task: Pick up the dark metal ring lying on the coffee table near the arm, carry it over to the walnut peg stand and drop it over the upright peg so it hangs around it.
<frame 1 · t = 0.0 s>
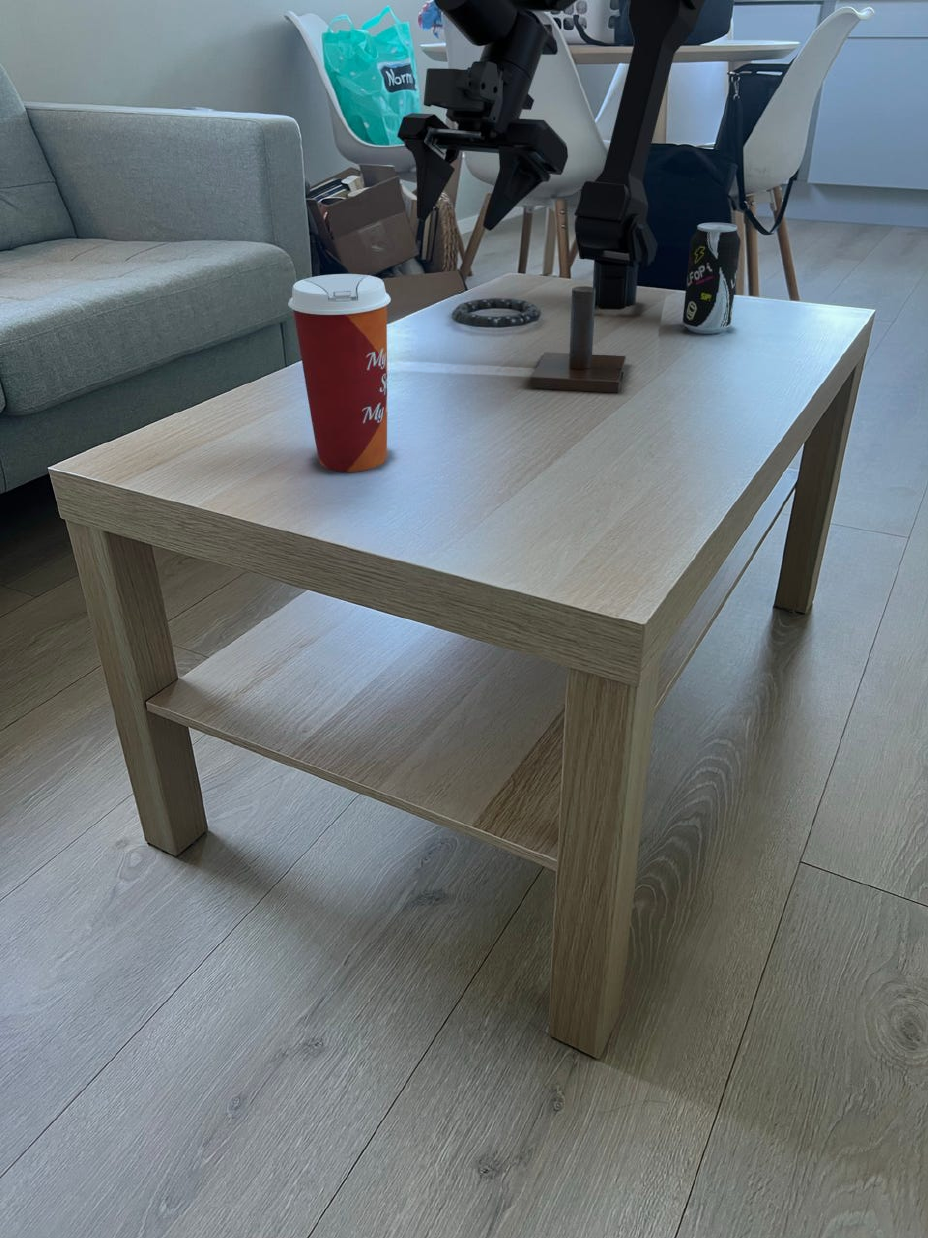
hand: (452, 223, 99), 15 cm above the table, tool tilted 35°, fingers open, 9 cm apart
beverage can: (705, 330, 118), on the table
coffee cup: (353, 460, 85), on the table
ring: (496, 315, 121), point 1 cm above the table
peg stand: (579, 377, 103), on the table
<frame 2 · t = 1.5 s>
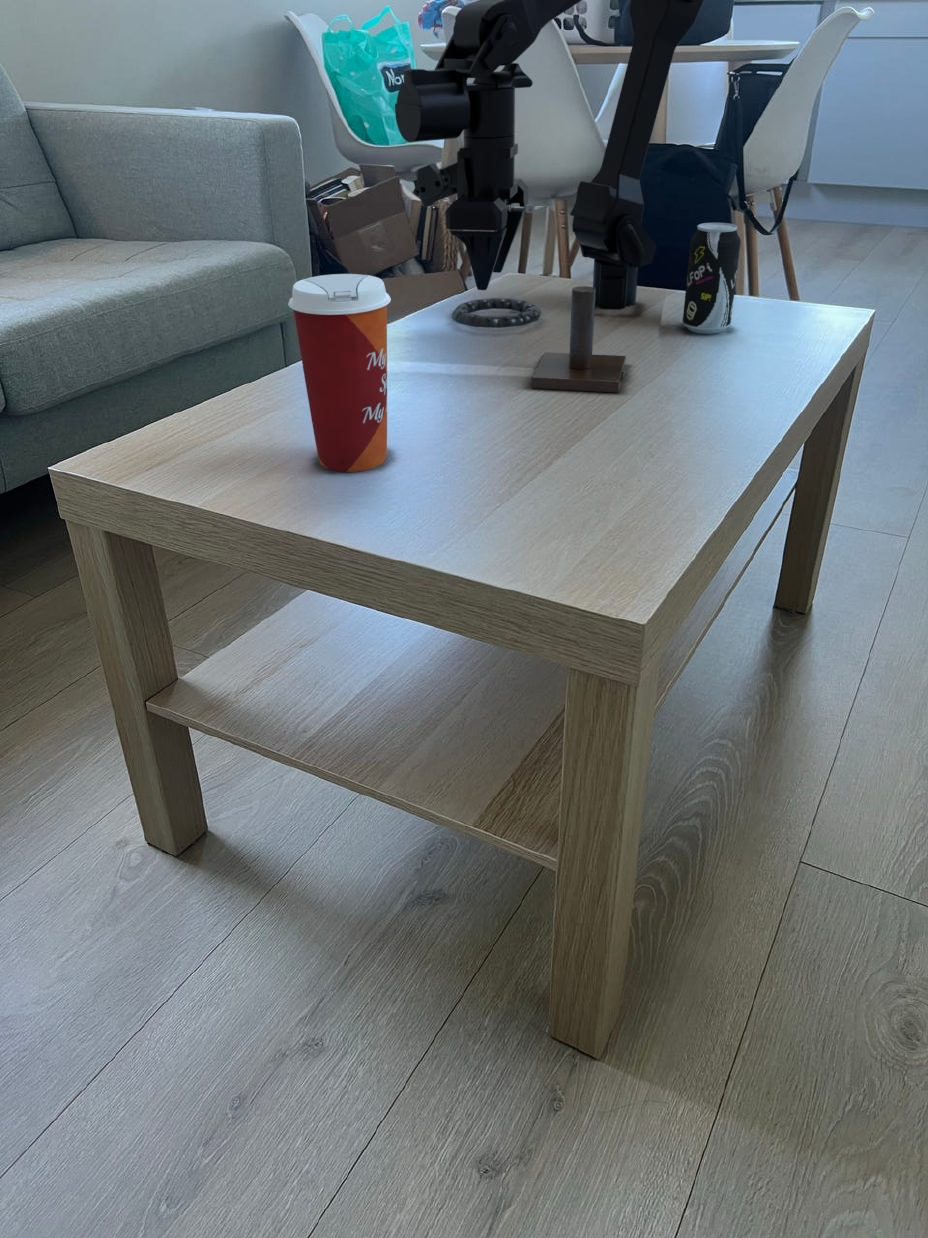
hand: (489, 280, 115), 6 cm above the table, tool pointing down, fingers open, 9 cm apart
nothing on the table moved.
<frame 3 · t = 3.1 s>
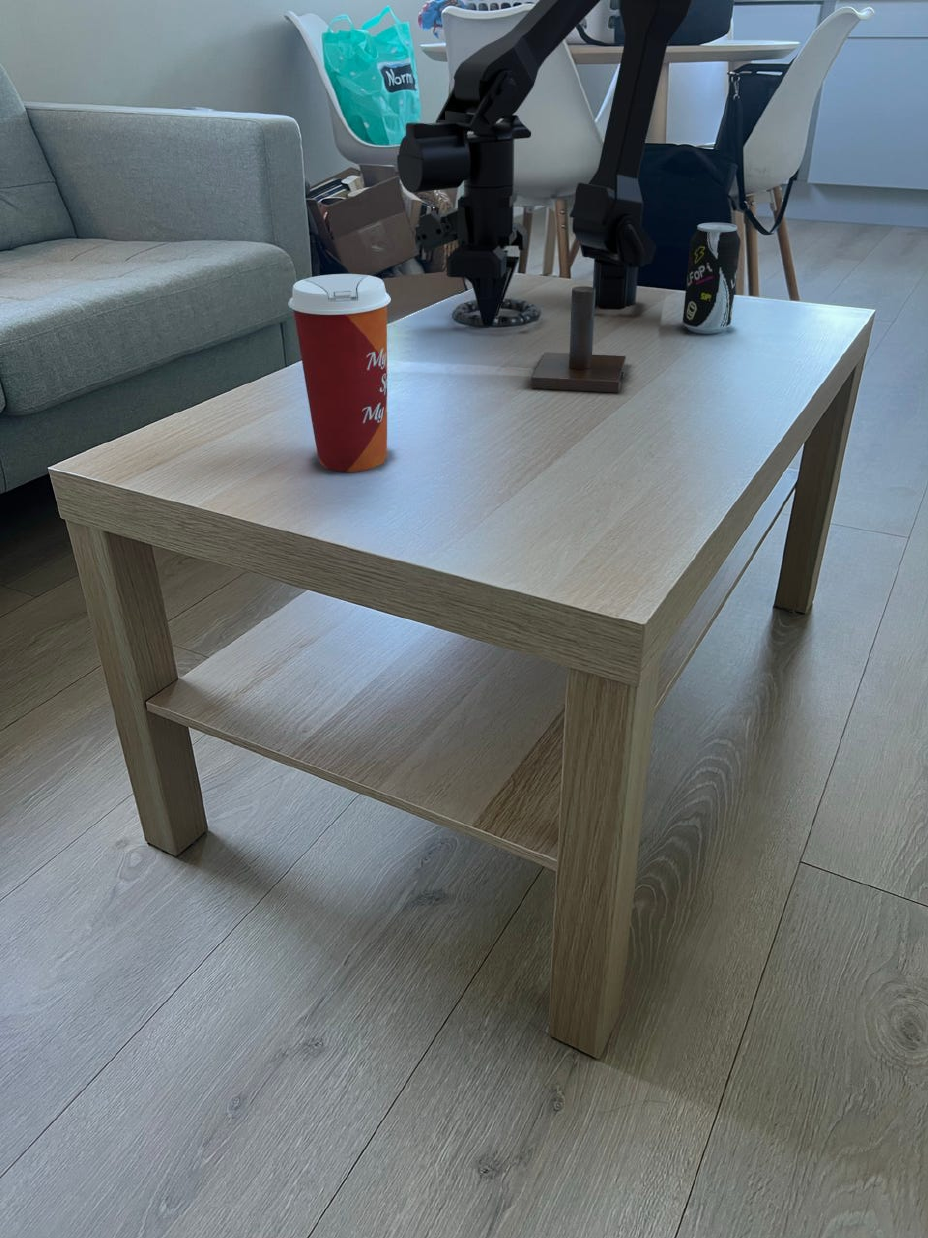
hand: (489, 322, 118), 1 cm above the table, tool pointing down, fingers closed on ring, 2 cm apart
ring: (496, 315, 121), point 1 cm above the table, touching gripper
everything else where it was.
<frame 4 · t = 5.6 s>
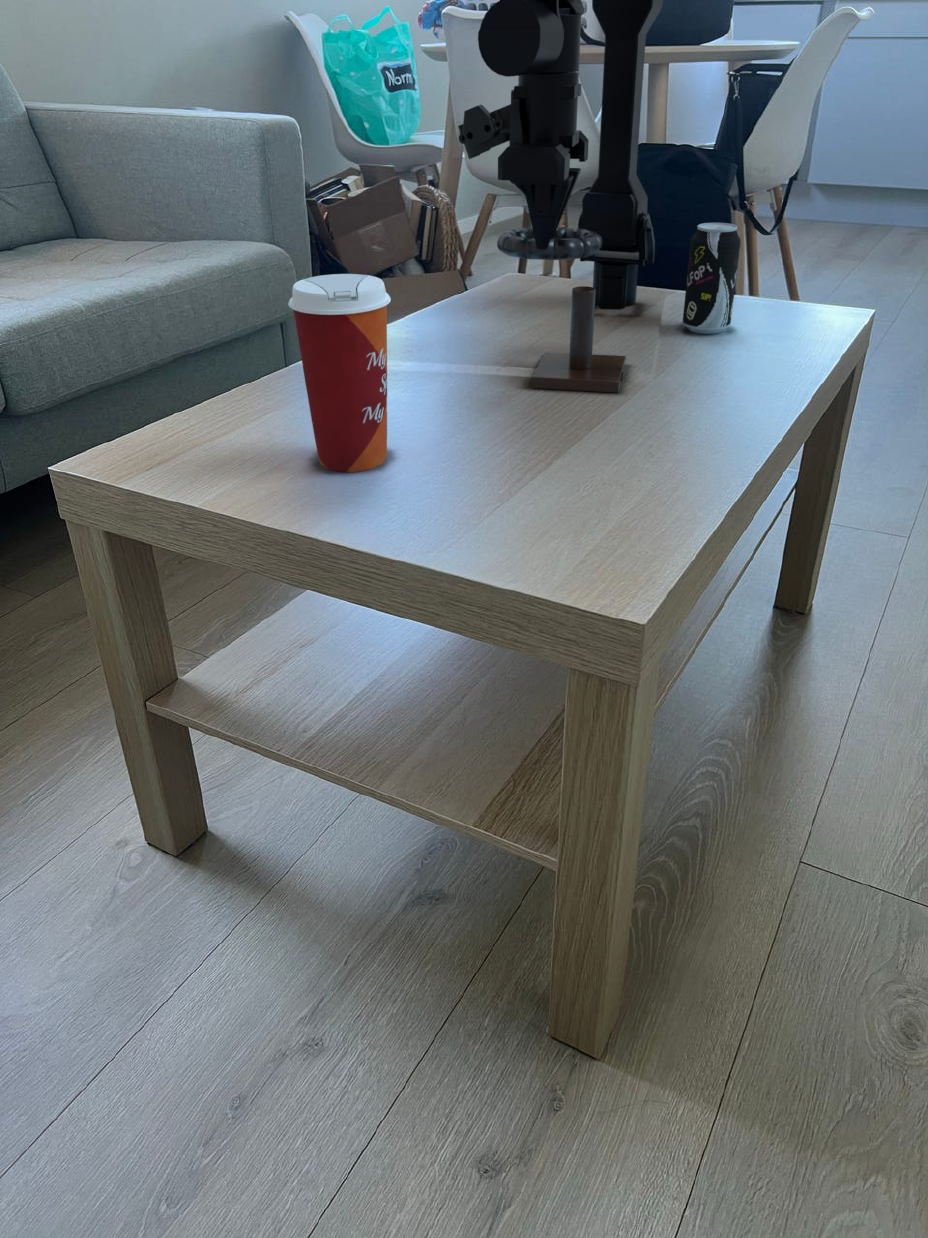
hand: (543, 246, 99), 13 cm above the table, tool pointing down, fingers closed on ring
ring: (549, 242, 103), point 12 cm above the table, touching gripper
everything else where it was.
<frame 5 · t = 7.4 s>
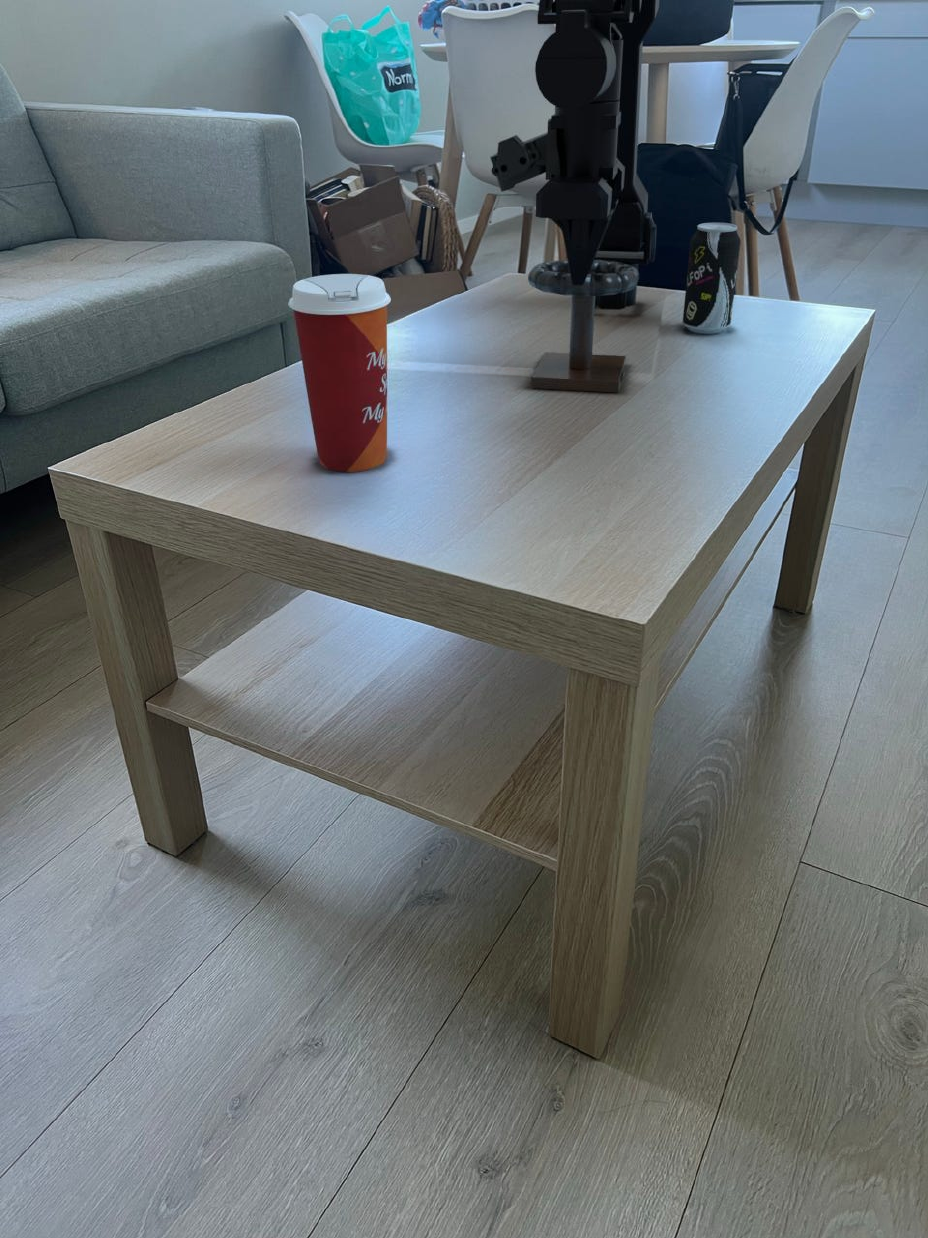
hand: (579, 282, 93), 11 cm above the table, tool pointing down, fingers closed on ring
ring: (583, 276, 97), point 10 cm above the table, touching gripper
everything else where it was.
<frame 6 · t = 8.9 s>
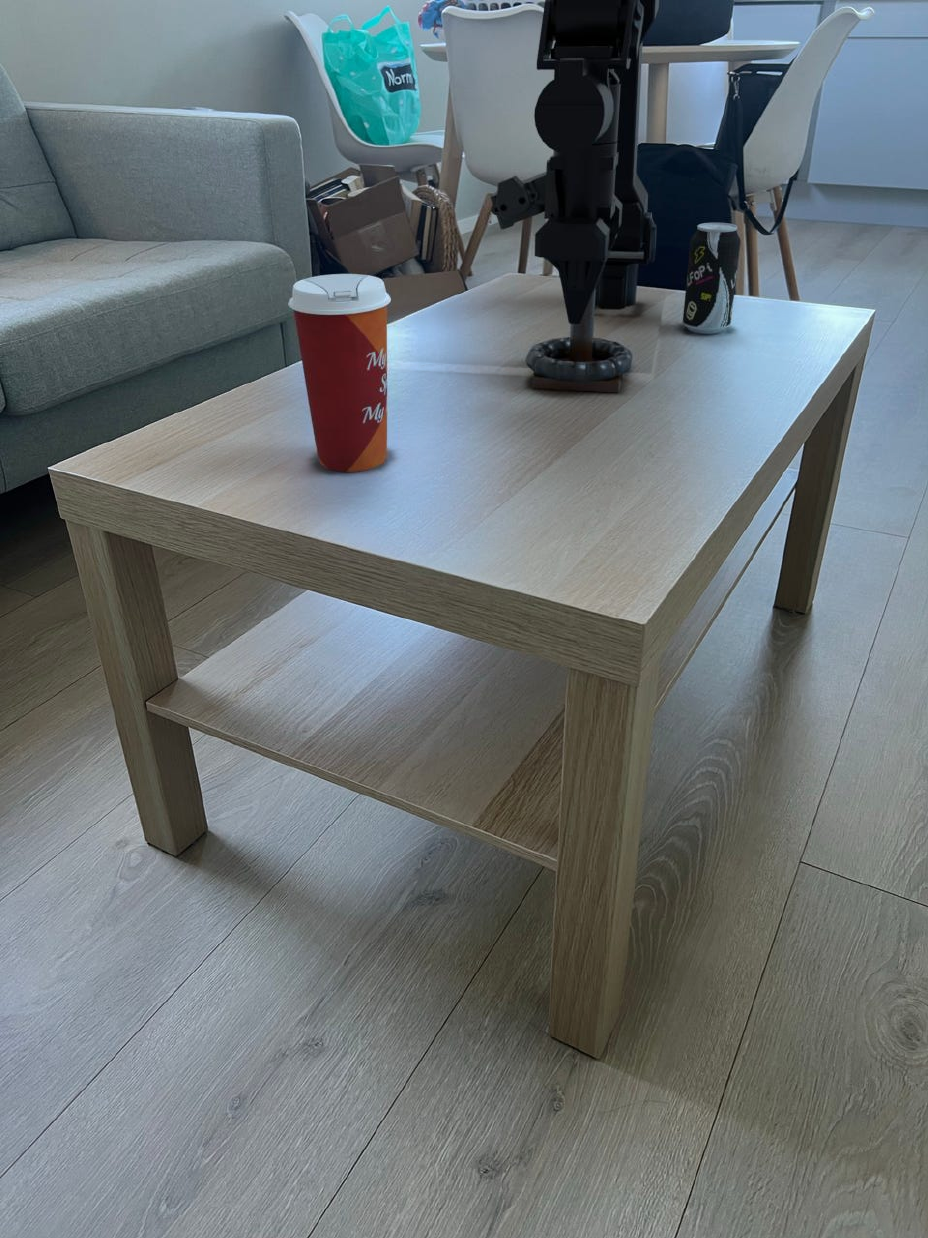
hand: (577, 317, 95), 8 cm above the table, tool pointing down, fingers open, 5 cm apart
ring: (579, 358, 101), point 2 cm above the table, touching peg stand
everything else where it was.
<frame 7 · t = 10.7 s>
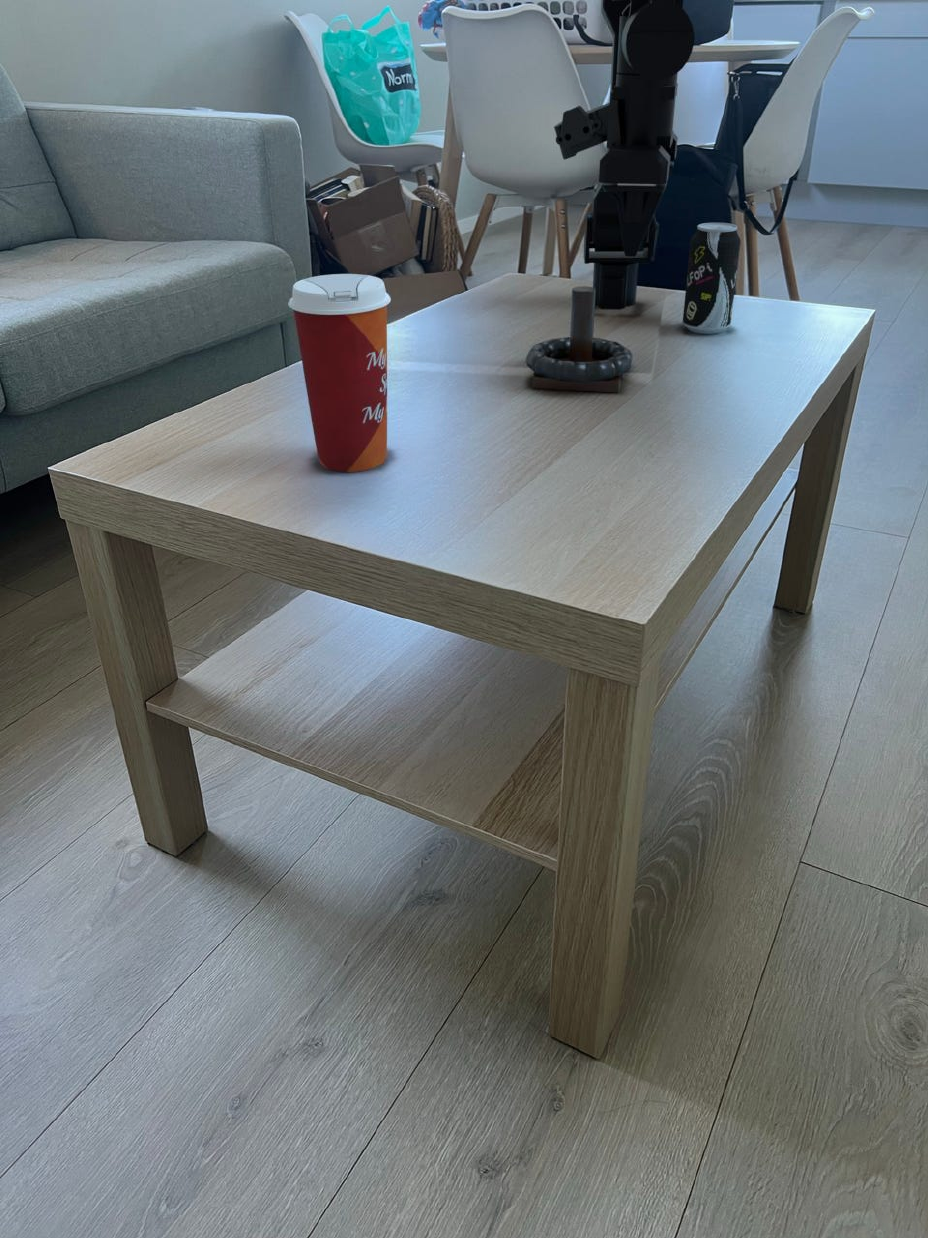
hand: (634, 245, 99), 13 cm above the table, tool pointing down, fingers open, 9 cm apart
nothing on the table moved.
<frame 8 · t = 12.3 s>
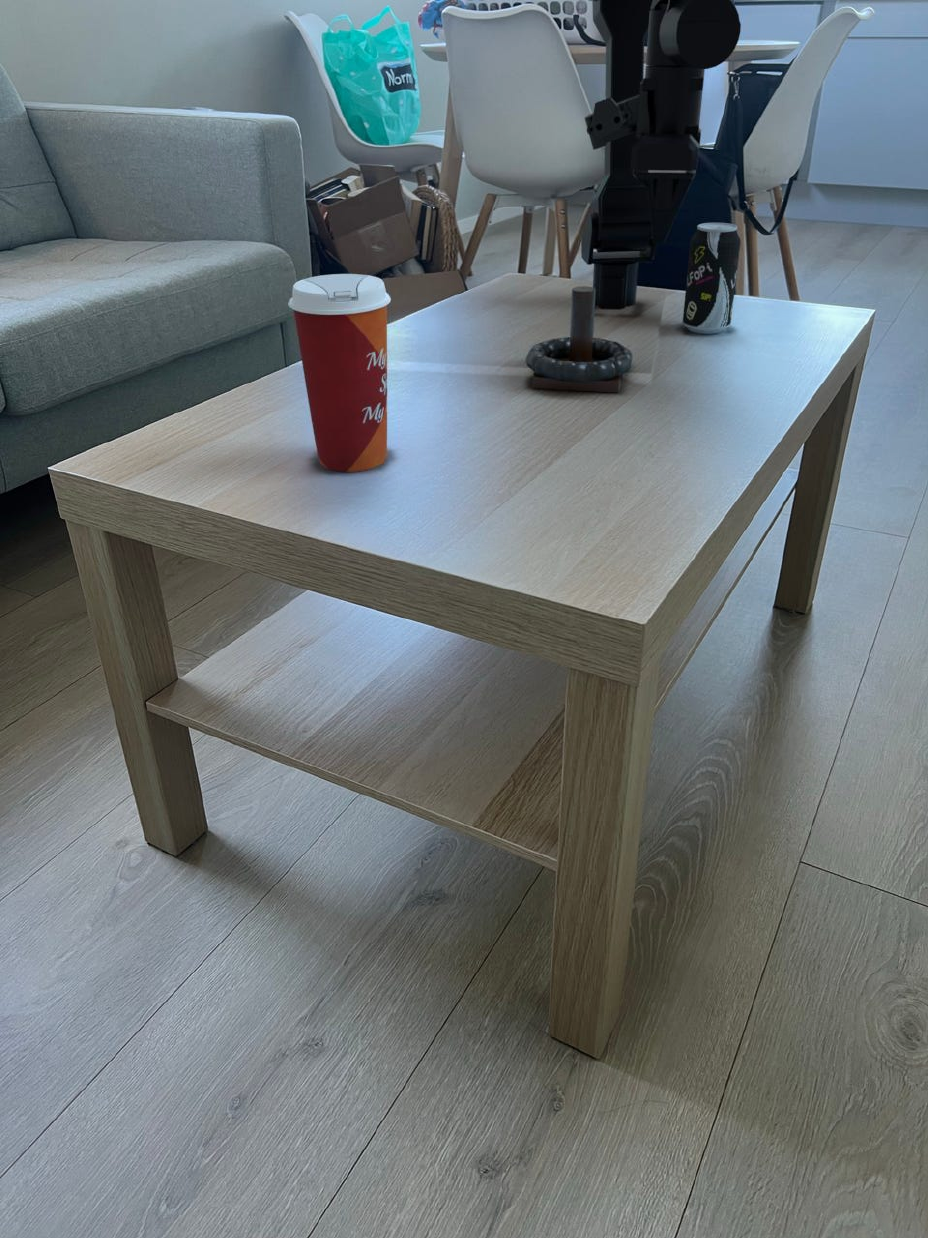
hand: (660, 234, 102), 13 cm above the table, tool pointing down, fingers open, 9 cm apart
nothing on the table moved.
at the end: ring 0.7 cm from the peg stand (horizontally); ring 0.7 cm off-centre on the peg stand, point 2.2 cm above the peg stand's base; the gripper is holding nothing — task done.
